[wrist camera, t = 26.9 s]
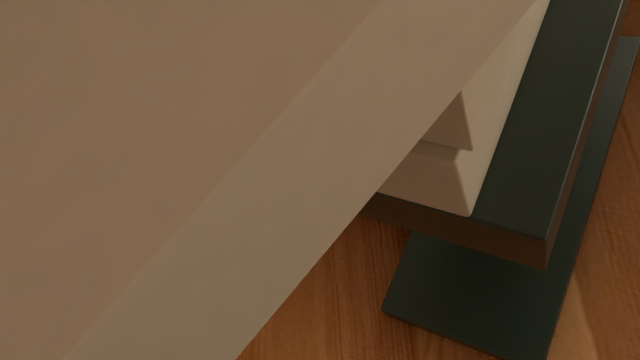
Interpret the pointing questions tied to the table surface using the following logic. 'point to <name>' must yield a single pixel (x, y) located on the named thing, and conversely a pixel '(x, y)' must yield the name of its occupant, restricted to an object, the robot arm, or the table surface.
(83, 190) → the cream rectangular block
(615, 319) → the table surface
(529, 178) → the dark green pedestal stand
